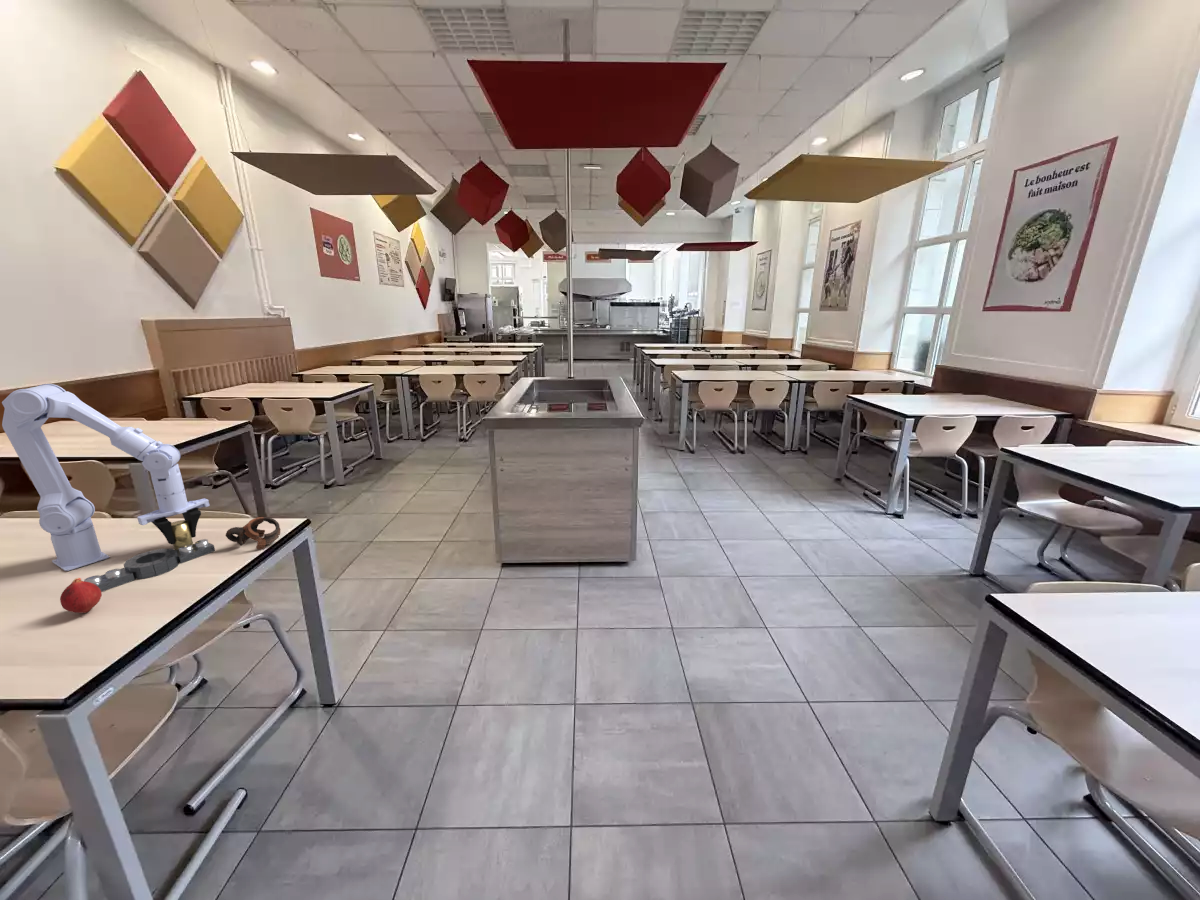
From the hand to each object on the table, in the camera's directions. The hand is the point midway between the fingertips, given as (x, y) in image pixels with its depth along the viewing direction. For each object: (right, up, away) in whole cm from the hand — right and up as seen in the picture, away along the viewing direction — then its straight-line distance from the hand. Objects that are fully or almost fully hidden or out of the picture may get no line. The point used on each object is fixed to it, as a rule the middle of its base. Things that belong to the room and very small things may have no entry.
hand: (182, 539), depth 129 cm
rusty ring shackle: (+18, -2, +3) cm, 18 cm away
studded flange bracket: (+2, -5, -10) cm, 12 cm away
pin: (0, -2, +1) cm, 2 cm away
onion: (+4, -10, -27) cm, 30 cm away
